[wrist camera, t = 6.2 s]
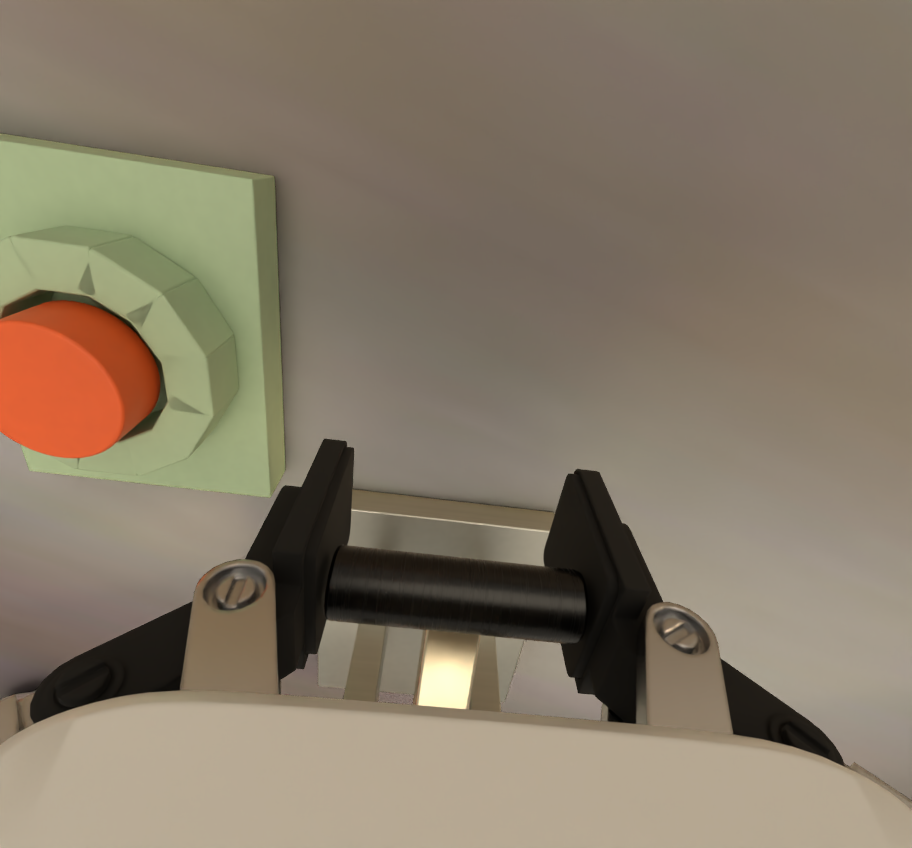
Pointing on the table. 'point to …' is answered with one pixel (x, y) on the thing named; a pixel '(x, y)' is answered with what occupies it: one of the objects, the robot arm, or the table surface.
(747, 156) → the table surface
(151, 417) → the switch block
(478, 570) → the lever
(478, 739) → the robot arm
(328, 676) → the bracket
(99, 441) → the button
